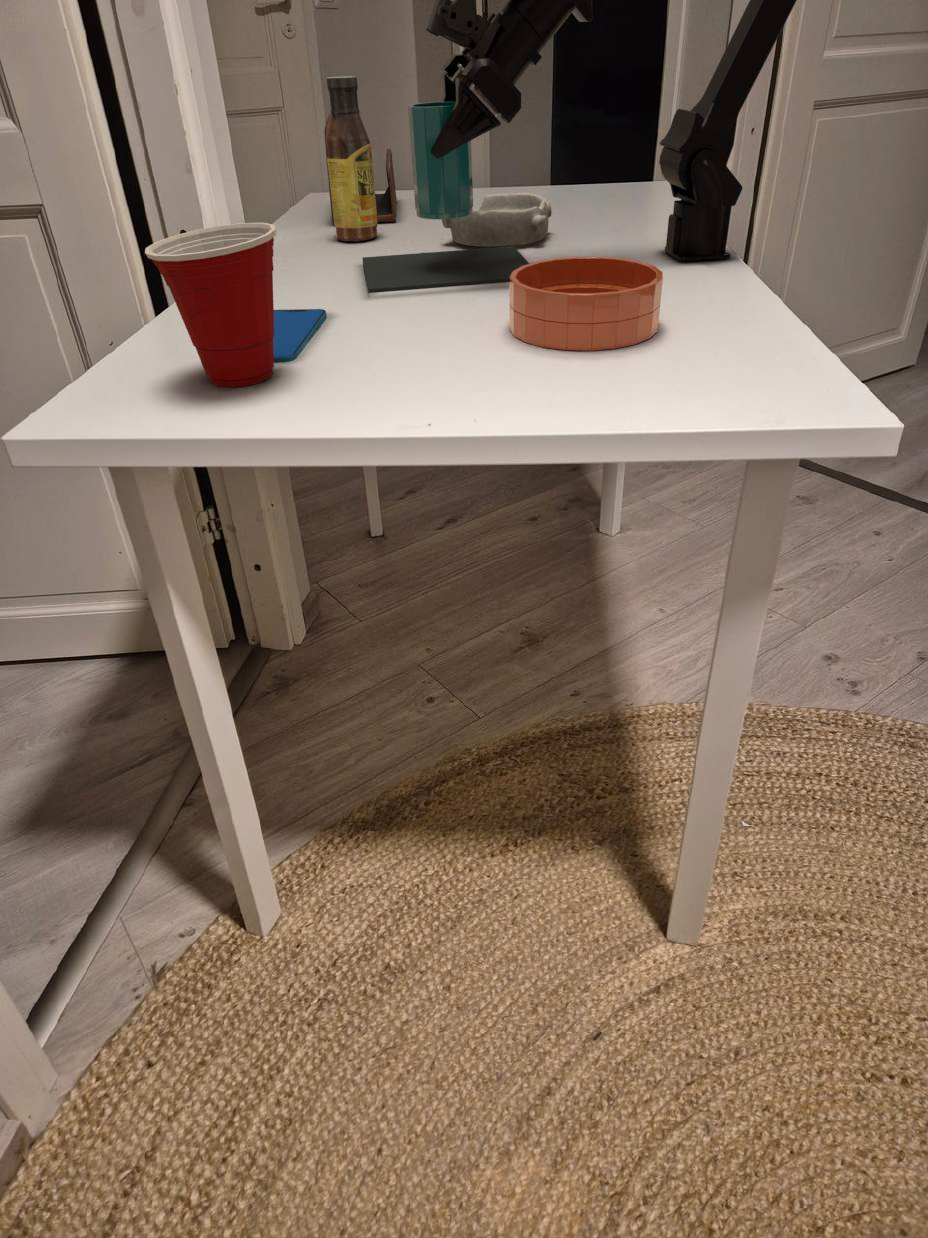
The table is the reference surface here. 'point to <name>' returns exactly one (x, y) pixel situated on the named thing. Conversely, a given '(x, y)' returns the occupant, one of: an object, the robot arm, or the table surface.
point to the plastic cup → (224, 297)
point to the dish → (503, 221)
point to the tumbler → (438, 166)
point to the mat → (441, 269)
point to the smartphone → (294, 331)
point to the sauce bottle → (350, 164)
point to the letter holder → (383, 201)
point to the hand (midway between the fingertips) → (429, 151)
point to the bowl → (585, 303)
